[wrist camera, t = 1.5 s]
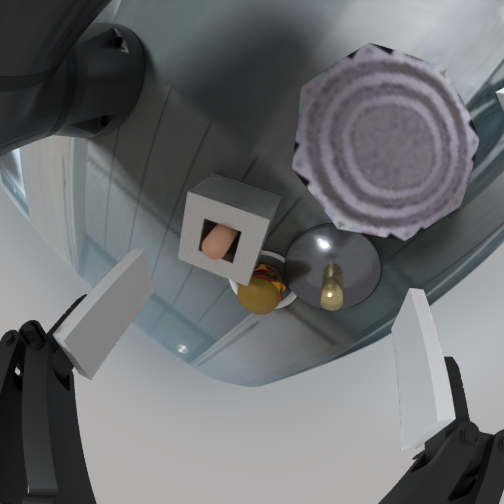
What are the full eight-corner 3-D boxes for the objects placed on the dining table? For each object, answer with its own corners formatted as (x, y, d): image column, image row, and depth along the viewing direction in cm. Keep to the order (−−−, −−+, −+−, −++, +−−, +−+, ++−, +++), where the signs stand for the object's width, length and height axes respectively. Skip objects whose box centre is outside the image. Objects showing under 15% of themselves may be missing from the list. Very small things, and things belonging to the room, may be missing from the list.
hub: (273, 285, 34) (262, 319, 29) (305, 207, 28) (299, 234, 23) (352, 314, 33) (352, 350, 28) (396, 246, 27) (408, 279, 22)
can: (369, 49, 18) (402, 12, 8) (441, 144, 20) (507, 180, 11) (281, 119, 24) (249, 134, 14) (357, 206, 26) (372, 276, 16)
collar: (200, 232, 33) (177, 258, 28) (212, 173, 28) (187, 191, 23) (260, 254, 32) (247, 286, 27) (281, 196, 28) (270, 220, 23)
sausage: (226, 219, 31) (199, 254, 25) (231, 202, 30) (203, 234, 24) (245, 226, 31) (222, 263, 25) (250, 209, 30) (227, 243, 23)
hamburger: (242, 317, 39) (231, 345, 35) (204, 247, 35) (185, 272, 30) (324, 304, 34) (322, 335, 30) (295, 221, 30) (288, 246, 25)
